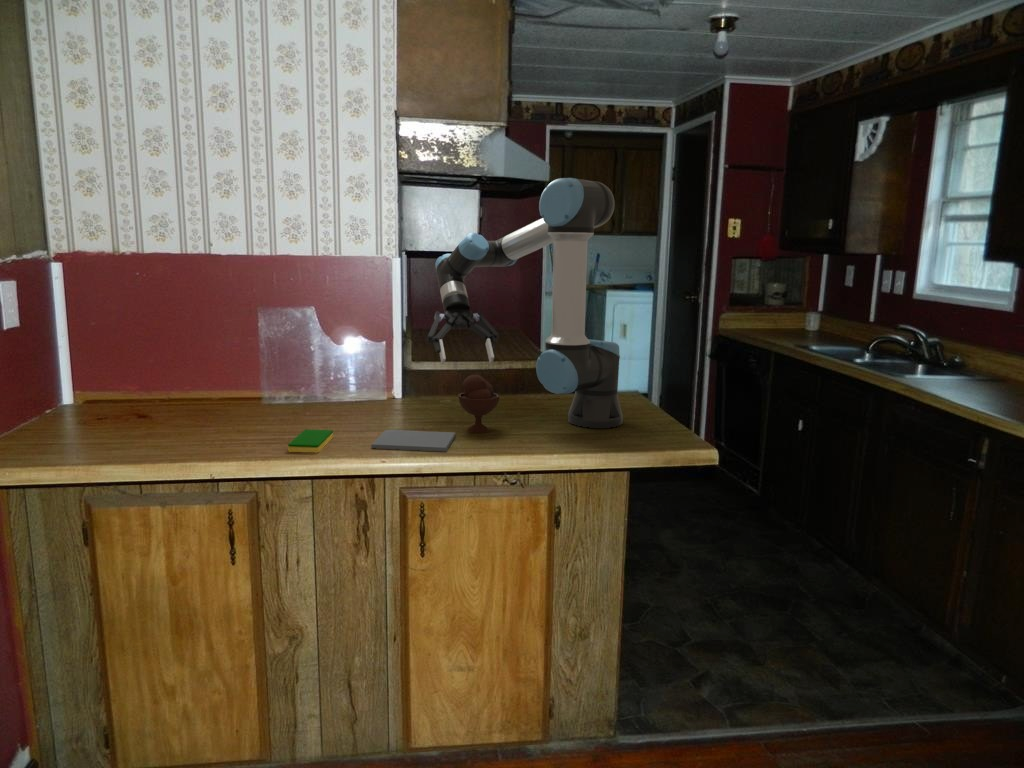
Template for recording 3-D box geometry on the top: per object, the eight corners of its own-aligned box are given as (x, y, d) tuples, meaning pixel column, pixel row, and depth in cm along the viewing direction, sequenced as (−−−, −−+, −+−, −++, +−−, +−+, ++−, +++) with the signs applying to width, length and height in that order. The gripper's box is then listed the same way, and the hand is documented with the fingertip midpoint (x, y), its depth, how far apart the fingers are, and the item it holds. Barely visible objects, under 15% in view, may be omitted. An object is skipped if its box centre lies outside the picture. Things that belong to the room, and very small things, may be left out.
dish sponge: (287, 454, 173) (287, 444, 173) (305, 438, 187) (305, 429, 186) (318, 455, 173) (318, 445, 173) (333, 439, 187) (333, 429, 186)
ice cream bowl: (494, 436, 190) (495, 379, 187) (452, 433, 193) (452, 376, 190) (503, 426, 201) (504, 372, 198) (463, 424, 203) (463, 369, 200)
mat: (455, 436, 190) (455, 432, 190) (445, 451, 176) (445, 447, 176) (385, 433, 192) (385, 429, 191) (371, 448, 178) (371, 444, 178)
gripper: (493, 308, 221) (508, 367, 210) (410, 309, 214) (421, 370, 203) (499, 292, 215) (514, 351, 204) (414, 292, 208) (424, 353, 197)
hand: (468, 360), depth 203 cm, fingers open, 13 cm apart
